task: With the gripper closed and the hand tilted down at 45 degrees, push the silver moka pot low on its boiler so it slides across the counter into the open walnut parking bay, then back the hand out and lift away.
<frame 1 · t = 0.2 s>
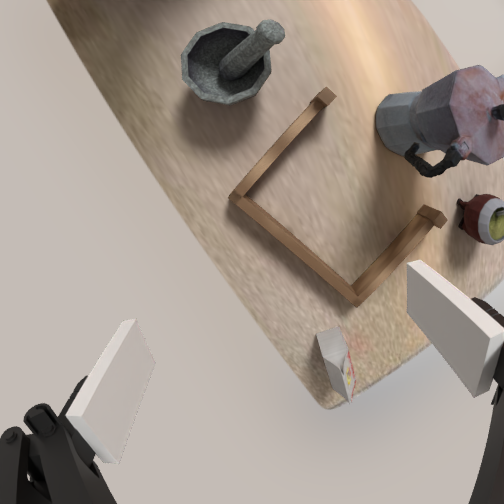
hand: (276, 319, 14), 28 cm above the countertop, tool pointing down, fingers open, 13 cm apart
white paper packet: (332, 345, 47), on the countertop
mortar and pestle: (235, 73, 35), on the countertop
bay: (339, 201, 40), on the countertop
mate gourd: (467, 208, 40), on the countertop
moka pot: (402, 127, 37), on the countertop
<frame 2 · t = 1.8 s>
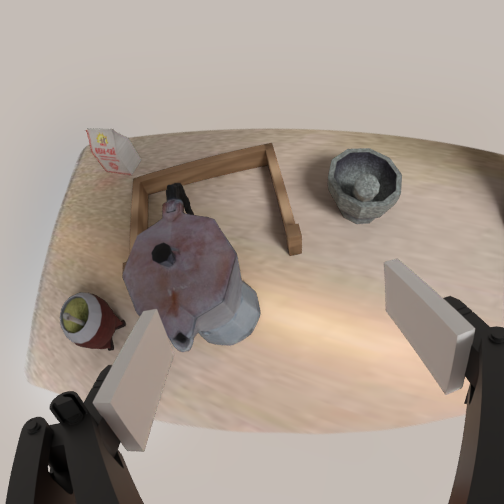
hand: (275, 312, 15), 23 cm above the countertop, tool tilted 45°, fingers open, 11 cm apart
white paper packet: (123, 166, 54), on the countertop
mortar and pestle: (358, 210, 43), on the countertop
bay: (210, 217, 46), on the countertop
mate gourd: (111, 330, 41), on the countertop
moka pot: (223, 309, 40), on the countertop
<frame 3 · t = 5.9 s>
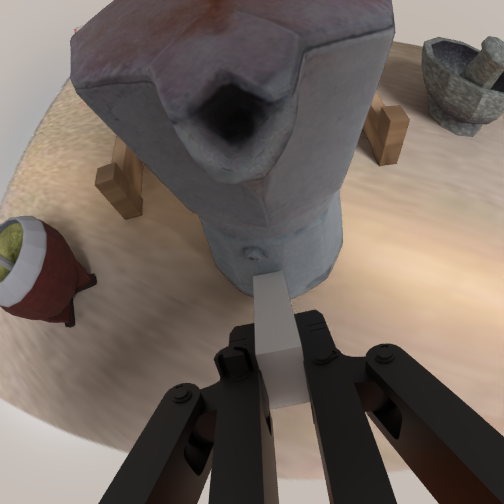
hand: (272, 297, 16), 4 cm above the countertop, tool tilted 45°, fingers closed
mortar and pestle: (454, 121, 25), on the countertop
bay: (245, 116, 28), on the countertop
mate gourd: (73, 293, 23), on the countertop
moka pot: (273, 237, 22), on the countertop, touching gripper
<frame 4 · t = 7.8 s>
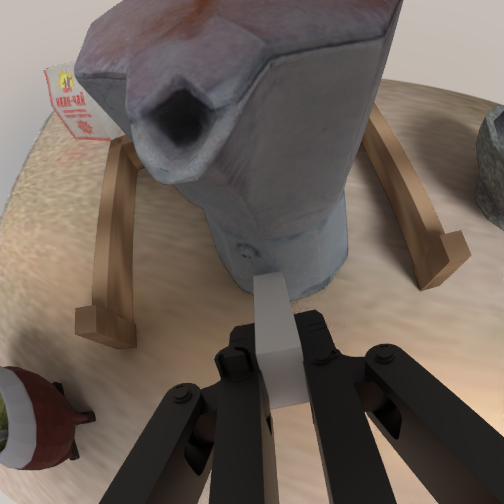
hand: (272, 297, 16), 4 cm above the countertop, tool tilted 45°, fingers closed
white paper packet: (102, 129, 32), on the countertop
mortar and pestle: (501, 208, 21), on the countertop
bay: (256, 210, 23), on the countertop
mate gourd: (72, 423, 18), on the countertop
moka pot: (280, 238, 22), on the countertop
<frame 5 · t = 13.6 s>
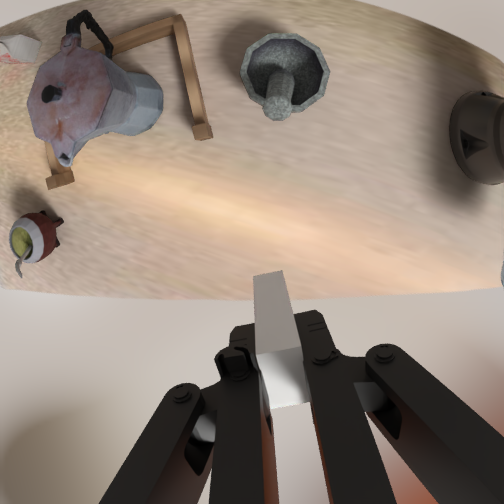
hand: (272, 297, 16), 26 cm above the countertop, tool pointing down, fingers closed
white paper packet: (25, 53, 33), on the countertop
mortar and pestle: (278, 88, 37), on the countertop
bay: (119, 102, 36), on the countertop
mate gourd: (53, 228, 42), on the countertop
moka pot: (132, 102, 37), on the countertop
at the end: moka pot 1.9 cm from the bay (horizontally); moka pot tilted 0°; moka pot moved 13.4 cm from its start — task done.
